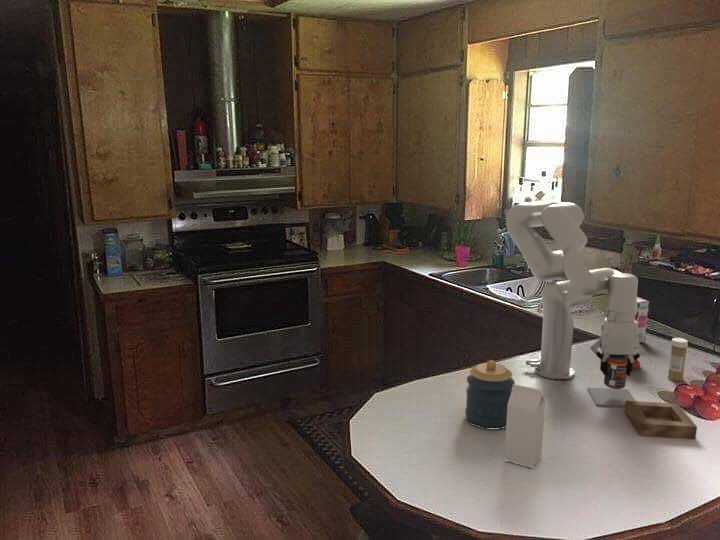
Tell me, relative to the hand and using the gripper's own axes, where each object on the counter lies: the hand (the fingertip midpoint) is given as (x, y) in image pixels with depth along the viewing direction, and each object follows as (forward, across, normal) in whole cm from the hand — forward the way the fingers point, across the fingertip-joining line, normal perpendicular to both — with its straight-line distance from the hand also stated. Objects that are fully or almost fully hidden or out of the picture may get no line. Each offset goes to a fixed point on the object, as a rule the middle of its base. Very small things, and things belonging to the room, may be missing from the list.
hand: (615, 373), depth 182 cm
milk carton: (+9, -31, -39) cm, 51 cm away
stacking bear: (+8, +11, +30) cm, 33 cm away
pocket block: (+8, +8, -16) cm, 20 cm away
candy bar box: (+8, +21, +57) cm, 61 cm away
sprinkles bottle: (+8, +24, +18) cm, 31 cm away
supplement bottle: (+4, 0, 0) cm, 4 cm away
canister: (+8, -38, -19) cm, 43 cm away
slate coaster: (+8, 0, 0) cm, 8 cm away
